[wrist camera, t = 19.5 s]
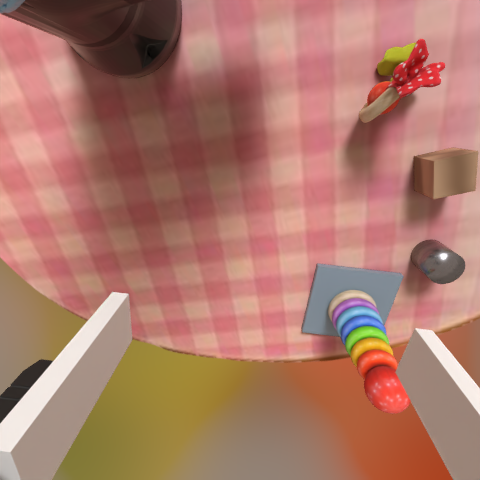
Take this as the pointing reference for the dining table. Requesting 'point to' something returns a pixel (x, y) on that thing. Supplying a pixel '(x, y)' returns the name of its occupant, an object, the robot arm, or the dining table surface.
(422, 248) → the graphite cylinder
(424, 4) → the dining table surface
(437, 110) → the dining table surface
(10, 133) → the dining table surface
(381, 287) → the pad
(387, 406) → the stacking toy
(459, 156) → the walnut cube
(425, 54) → the bird rattle
